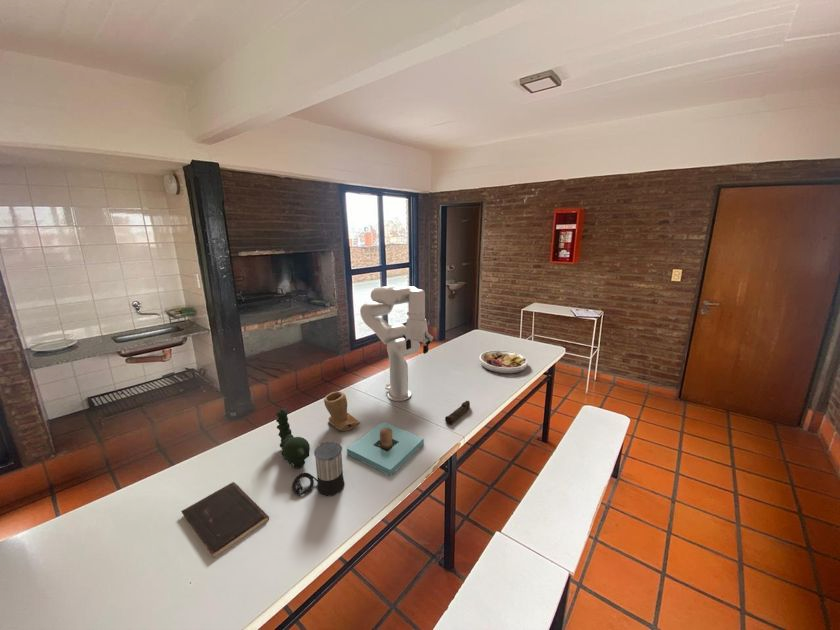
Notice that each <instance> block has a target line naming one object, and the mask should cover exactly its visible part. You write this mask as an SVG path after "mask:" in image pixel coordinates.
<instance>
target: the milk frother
mask: <svg viewBox="0 0 840 630" xmlns="http://www.w3.org/2000/svg"><path fill="white" fill-rule="evenodd" d="M342 451H343V447H342V445H341V444H340V443H339V442H335V441H324V442H321V443H320V444H319V445H318V446H317V447H316V448H314V451H313V455H314V458H315V466H316V467H315V468H316V477H317V478H316V477H314V475H313V474H311V473H310V472H301V473H299V474H298V475H297V476H296V477H295V478H294V480H292V481H293V482H292V484H291V490H292V493H293V494H295V495H298V496H302V495H306V494H308V493H309V492H311V491H312V489H313V487H314V484H315V481H316V482H317V489H316V490H317V492H318V495H320V496H323V497H333V496H335V495H338V494H339V493H341V492H342V491H343V489H344V488H345V478H344V472H343V471H344V470H343V455H342V453H343V452H342ZM302 478H307V479H308V480H309V481H310V482H309V486H308V487H307V488H305V489H304V490H303V487H304V486H303V485H302V482H301V481H300V480H301V479H302Z"/></svg>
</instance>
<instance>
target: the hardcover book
mask: <svg viewBox="0 0 840 630" xmlns="http://www.w3.org/2000/svg"><path fill="white" fill-rule="evenodd" d="M181 513H182V515H183V516H184V518H185V520H186V521H187V522H188V523H189V524H190V526H191V528H192V529H193V530H194V532H195V533H196V534H197V536H198V537H199V539H200V540H201V542H202V543H203V544H204V546H205V548H207V550H208V551H209V553H210V554H211V556H213V558H215V557H217V556H218V555H220V554H221V553H222V552H224V551H225V550H226V549H228V548H230V547H231V546H232V545H234V544H235V543H238V541H240V540H242V539H243V538H244V537H245V536H247V535H249V534H250V533H251V532H253V531H254V530H255V529H256V528H259V526H261V525H262V524H264V523H265V522H267V521H268V520H270V516H269V515H268V514H267V513H266V512H265V511H264V510H263V509H262V508H261V507H260V506H259V505H258V504H257V503H256V502H255V501H254V500H253V499H252V497H250V496H249V495H248V494H247V492H245V491H244V490H243V489H242V488H241V487H240V486H239V485H238V484H237V483H236V482H235V481H232V482H231V483H229V484H227V485H225V486H224V487H223V486H222V487H221V488H220V489H219V490H216V491H215V492H213V493H211V494H209V495H208V496H205V497H203V498H202V499H200V500H198V501H196V502H195V503H193V504H191V505H190V506H187V507H186V508H185V509H182V510H181Z"/></svg>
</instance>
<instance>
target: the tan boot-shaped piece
mask: <svg viewBox="0 0 840 630" xmlns="http://www.w3.org/2000/svg"><path fill="white" fill-rule="evenodd" d="M323 402H324V407H325V408H326V410H327V412H328V413H329V415H330V416H329V417H328V422H329V423H330V424H331V425H332V426H333V427H334V428H336V429H337V430H339V431H341V432H342V431H344V432H346V431H350V430H354V429H355V428H357V427H358V426H360V425H361V422H360V421H359V420H358V419H357V418H356V417H354V416H353V415H351V414H350V413H349V412H348V400H347V396H346V394H345V393H344V392H342V391H333V392H330V393H329V394H327V395H326V396H325V397H324V399H323Z"/></svg>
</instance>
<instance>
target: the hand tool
mask: <svg viewBox="0 0 840 630" xmlns="http://www.w3.org/2000/svg"><path fill="white" fill-rule="evenodd" d="M470 406H471V402H470V400H465V401H464V402H462V403H461V405H460V406H459V407H458V408H457V409H455V410H454V411H453V412H451V413H450V414H448V415H446V416H445V419H444V420H445V421H444V422H445V423H446V424H447V425H450V426H451V425H453V424H454V422H455V421H457V419H459V418H460V417H461V416H462V415H463V414H466V413H468V411H469V410H470Z"/></svg>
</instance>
